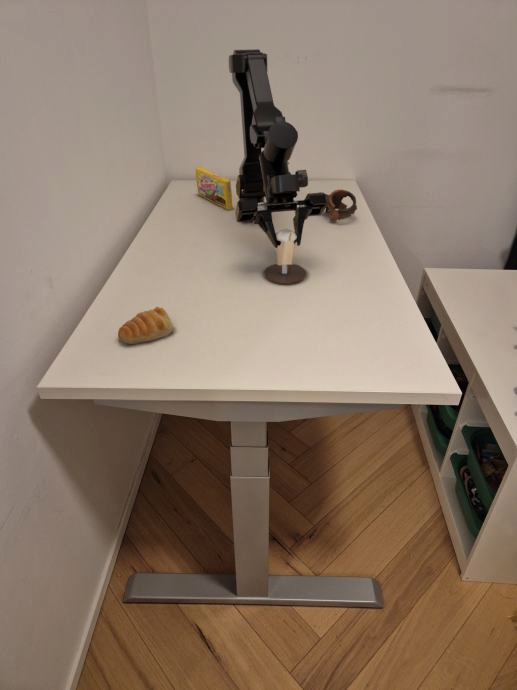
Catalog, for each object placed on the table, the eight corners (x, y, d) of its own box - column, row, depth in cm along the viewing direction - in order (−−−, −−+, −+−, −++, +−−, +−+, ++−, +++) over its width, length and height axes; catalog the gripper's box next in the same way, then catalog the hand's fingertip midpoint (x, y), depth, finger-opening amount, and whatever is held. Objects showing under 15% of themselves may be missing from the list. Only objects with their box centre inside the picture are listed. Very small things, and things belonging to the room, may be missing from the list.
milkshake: (278, 278, 99) (279, 234, 92) (271, 267, 103) (272, 224, 97) (298, 276, 99) (301, 232, 93) (291, 264, 104) (293, 221, 98)
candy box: (197, 195, 143) (194, 167, 138) (202, 193, 144) (200, 166, 139) (226, 210, 132) (225, 180, 127) (233, 208, 133) (232, 179, 128)
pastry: (129, 352, 79) (125, 334, 77) (112, 335, 83) (108, 317, 81) (177, 332, 84) (174, 314, 82) (158, 316, 88) (156, 299, 86)
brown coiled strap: (355, 212, 132) (363, 192, 124) (345, 237, 128) (353, 218, 120) (315, 197, 133) (321, 177, 125) (304, 222, 129) (309, 202, 121)
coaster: (261, 266, 104) (261, 264, 104) (301, 264, 105) (301, 261, 105) (267, 286, 97) (267, 283, 97) (309, 283, 98) (310, 280, 98)
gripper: (236, 157, 89) (248, 235, 87) (329, 151, 92) (343, 227, 90) (230, 185, 99) (241, 255, 97) (314, 179, 103) (326, 247, 101)
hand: (287, 246), depth 96 cm, fingers closed on milkshake, 4 cm apart
